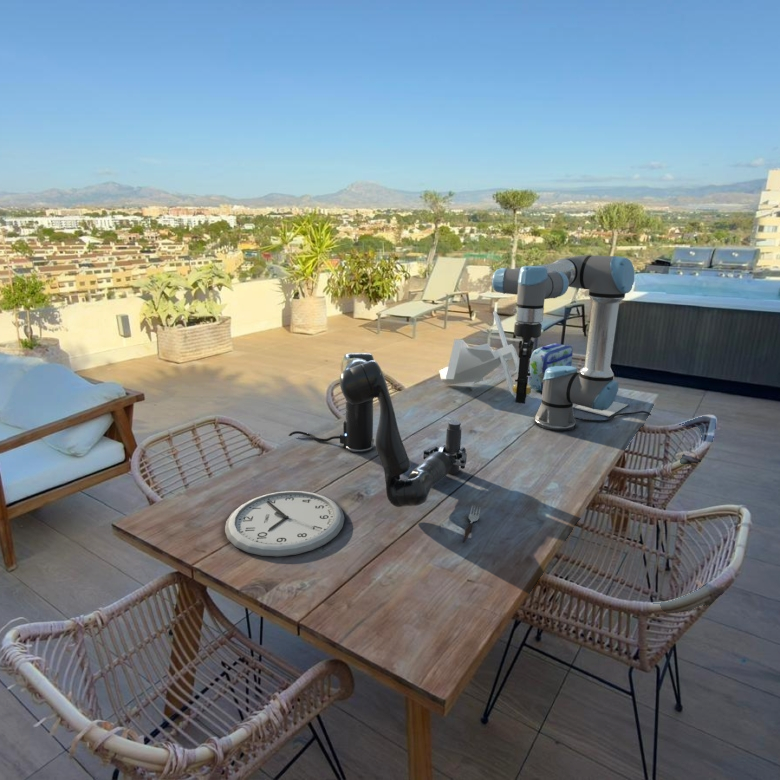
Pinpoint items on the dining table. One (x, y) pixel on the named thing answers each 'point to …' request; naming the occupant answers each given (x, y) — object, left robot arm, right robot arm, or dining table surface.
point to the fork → (472, 519)
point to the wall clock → (284, 523)
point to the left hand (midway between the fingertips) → (455, 448)
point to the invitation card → (608, 412)
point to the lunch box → (547, 362)
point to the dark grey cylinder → (453, 441)
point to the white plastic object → (479, 361)
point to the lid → (528, 389)
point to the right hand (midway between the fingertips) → (520, 399)
